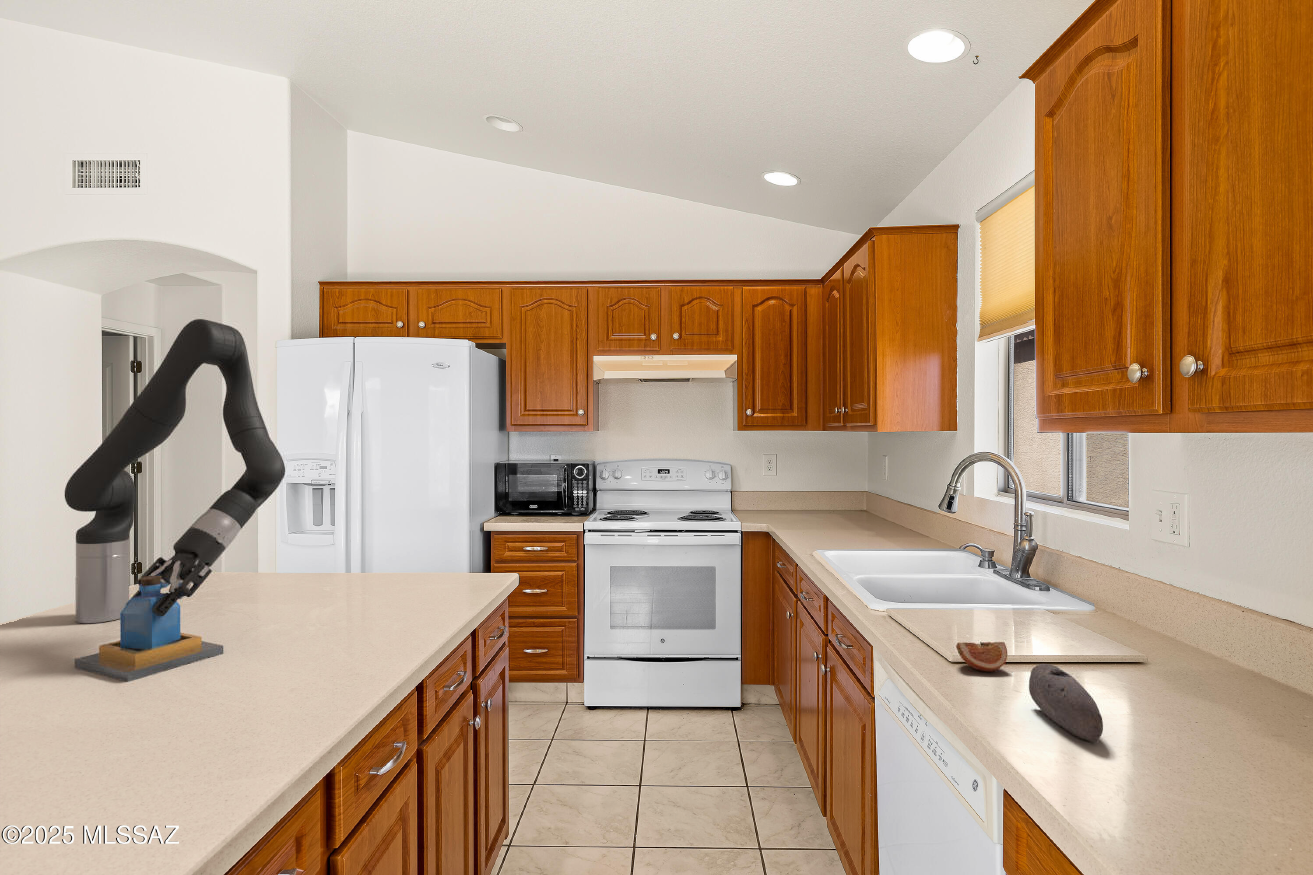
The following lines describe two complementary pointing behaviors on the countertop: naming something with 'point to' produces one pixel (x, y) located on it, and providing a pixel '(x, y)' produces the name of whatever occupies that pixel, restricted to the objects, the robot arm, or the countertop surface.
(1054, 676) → the dark grey stone
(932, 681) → the countertop surface
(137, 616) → the perfume bottle
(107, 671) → the wooden tray
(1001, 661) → the fruit slice
